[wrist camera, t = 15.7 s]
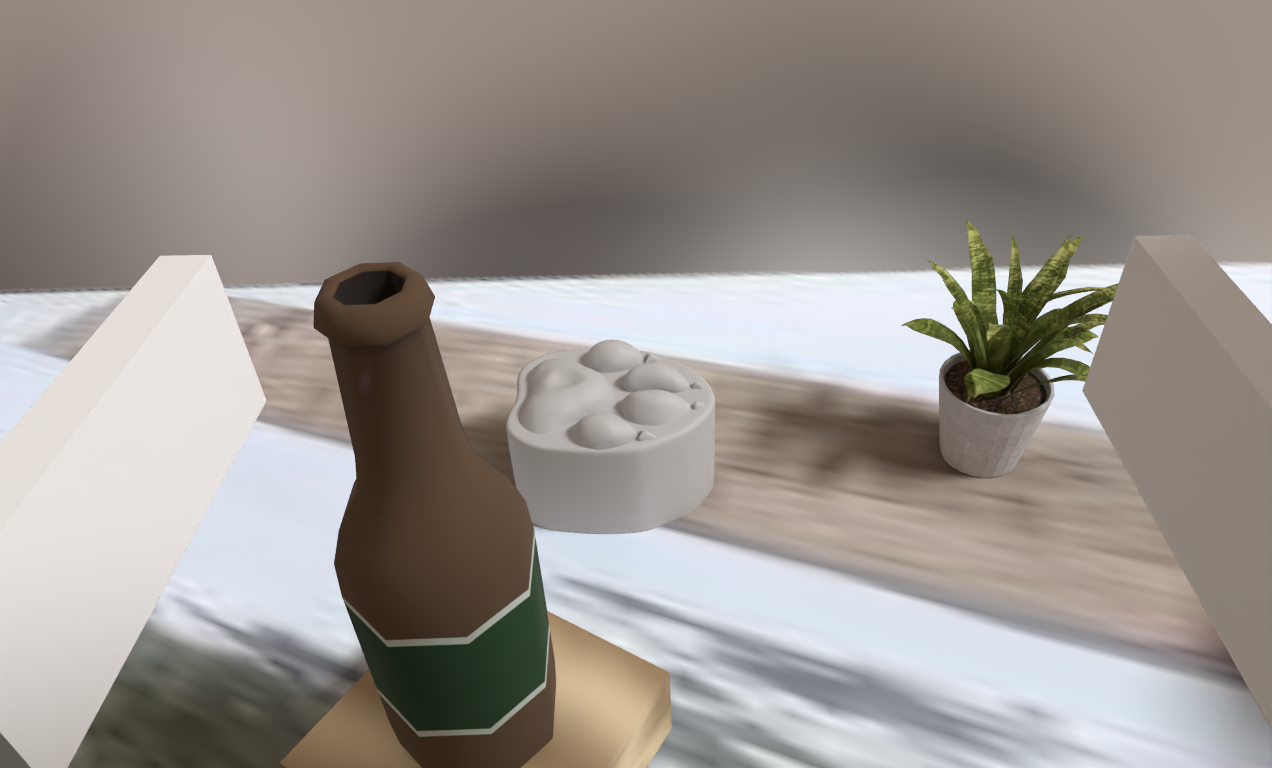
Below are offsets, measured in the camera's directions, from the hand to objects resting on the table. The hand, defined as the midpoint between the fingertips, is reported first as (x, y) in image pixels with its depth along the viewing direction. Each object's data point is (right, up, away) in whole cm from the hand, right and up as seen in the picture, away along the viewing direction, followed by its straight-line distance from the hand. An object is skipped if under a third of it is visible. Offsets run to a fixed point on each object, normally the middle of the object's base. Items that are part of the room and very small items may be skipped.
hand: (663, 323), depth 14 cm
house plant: (+23, -7, +48) cm, 54 cm away
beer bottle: (-8, -17, +30) cm, 35 cm away
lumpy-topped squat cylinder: (-2, -7, +49) cm, 50 cm away
